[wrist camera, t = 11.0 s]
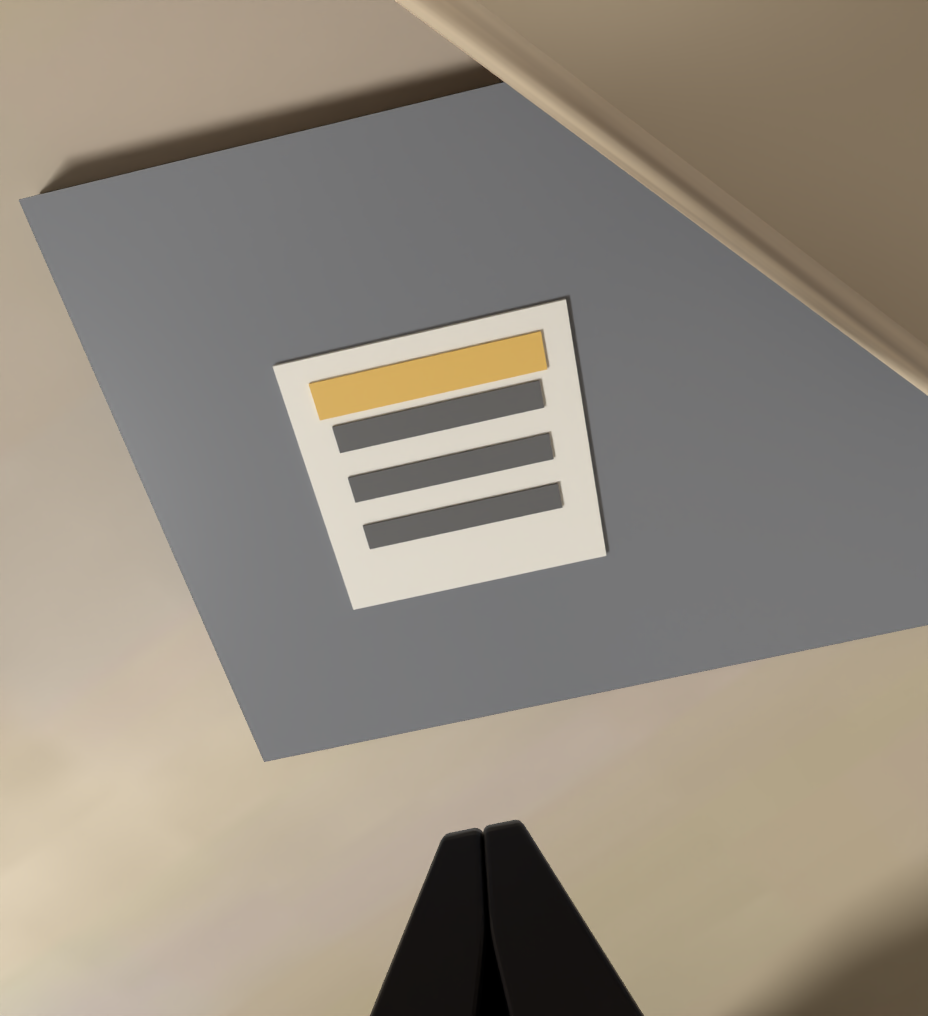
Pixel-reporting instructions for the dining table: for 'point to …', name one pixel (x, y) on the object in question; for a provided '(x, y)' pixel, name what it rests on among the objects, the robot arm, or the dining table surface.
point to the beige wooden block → (749, 131)
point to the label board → (479, 422)
